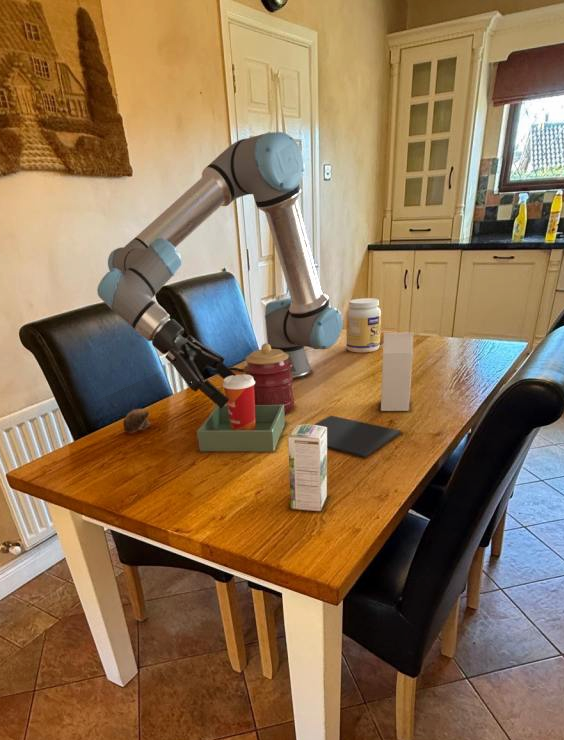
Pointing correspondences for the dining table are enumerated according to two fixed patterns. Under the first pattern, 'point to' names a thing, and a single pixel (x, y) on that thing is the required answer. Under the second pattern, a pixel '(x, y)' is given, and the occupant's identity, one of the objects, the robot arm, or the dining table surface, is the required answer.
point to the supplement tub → (363, 325)
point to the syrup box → (308, 467)
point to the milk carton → (396, 371)
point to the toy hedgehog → (136, 420)
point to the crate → (242, 431)
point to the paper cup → (240, 401)
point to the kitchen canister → (271, 377)
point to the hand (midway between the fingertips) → (232, 394)
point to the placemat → (355, 436)
